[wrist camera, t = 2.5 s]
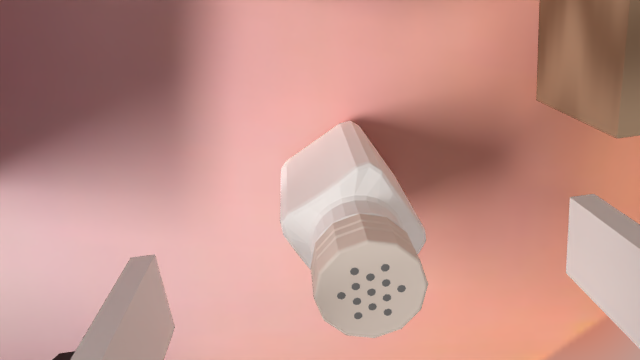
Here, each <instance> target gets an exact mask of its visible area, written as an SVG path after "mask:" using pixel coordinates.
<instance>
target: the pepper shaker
mask: <svg viewBox="0 0 640 360" xmlns="http://www.w3.org/2000/svg"><path fill="white" fill-rule="evenodd" d="M280 223H281V227H282V231H283V235H284V236H285V238H286V239H287V240H288V242H289V243H290V244H291V246H292V247H293V248H294V250H295V251H296V253H297V254H298V255H299V256H300V258H301V259H302V260H303V261H304V262H305V264H306V265H307V266H308V267H309V268H310V270H311V274H312V282H313V284H312V285H313V297H314V299H315V302H316V304H317V306H318V308H319V310H320V313H321V315H322V317H323V319H324V321H326V322H327V323H329V324H330V325H332V326H333V327H335V328H336V329H338V330H339V331H341V332H343V333H344V334H346V335H349V336H359V337H370V338H376V337H379V336H382V335H385V334H387V333H390V332H393V331H396V330H399V329H402V328H403V327H404V326H405V325H406V324H407V323H408V322H409V321H410V320H411V319H412V318H413V317H414V316H415V315H416V314H417V313H418V312H419V311H420V310H421V308H422V304H423V300H424V297H425V293H426V290H427V286H428V282H427V279H426V276H425V273H424V270H423V267H422V264H421V262H420V259H419V257H418V255H417V254H418V253H419V252H420V250H421V249H422V247H423V245H424V243H425V241H426V235H425V229H424V227H423V225H422V223H421V222H420V220H419V218H418V216H417V215H416V213H415V211H414V209H413V207H412V206H411V204H410V202H409V200H408V199H407V197H406V195H405V193H404V191H403V190H402V188H401V186H400V184H399V183H398V181H397V179H396V177H395V175H394V174H393V173H392V171H391V170H390V168H389V167H388V166H387V164H386V163H385V161H384V160H383V159H382V157H381V156H380V154H379V153H378V151H377V150H376V149H375V147H374V146H373V144H372V143H371V142H370V140H369V139H368V137H367V136H366V135H365V133H364V132H363V130H362V129H361V128H360V126H359V125H357V124H355V123H354V122H352V121H347V122H343V123H339V124H338V125H336V126H335V127H334V128H332V129H331V130H329V131H328V132H327V133H325V134H324V135H322V136H321V137H319V138H318V139H317V140H315V141H314V142H312V143H311V144H310V145H308V146H307V147H305V148H304V149H302V150H301V151H300V152H298V153H297V154H295V155H294V156H293V157H291V158H290V159H288V160H287V161H286V162H285V164H284V166H283V167H282V169H281V203H280Z"/></svg>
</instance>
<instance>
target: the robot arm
mask: <svg viewBox="0 0 640 360" xmlns="http://www.w3.org/2000/svg"><path fill="white" fill-rule="evenodd" d="M566 273H567V274H568V276H569V277H570V278H571V279H572V280H573V281H574V282H575V283H576V284H577V285H578V286H579V287H580V288H581V289H582V290H583V291H584V292H585V293H586V294H587V295H588V296H589V297H590V298H591V299H592V300H593V301H594V302H595V303H596V304H597V305H598V306H599V307H600V309H601V310H602V311H603V312H604V313H605V314H606V315H607V316H608V317H609V318H610V319H611V320H612V321H613V322H614V323H615V324H616V325H617V326H618V327H619V328H620V329H621V330H622V331H623V332H624V333H625V334H626V335H627V336H628V337H629V338H630V339H631V340H632V341H633V343H635V344H636V345H637V347H638V348H639V349H640V225H639V224H638V223H636V222H635V221H633V220H632V219H631V218H629V217H628V216H626V215H625V214H623V213H622V212H620V211H619V210H617V209H616V208H614V207H613V206H611V205H610V204H608V203H607V202H605V201H604V200H602V199H601V198H599V197H598V196H596V195H595V194H589V195H582V196H575V197H570V206H569V225H568V244H567V263H566ZM174 328H175V326H174V323H173V319H172V315H171V312H170V308H169V304H168V301H167V297H166V293H165V290H164V286H163V282H162V279H161V275H160V271H159V268H158V264H157V260H156V257H155V255H147V256H140V257H133V258H130V260H129V261H128V263H127V265H126V266H125V268H124V270H123V271H122V273H121V275H120V276H119V278H118V280H117V282H116V283H115V285H114V287H113V288H112V290H111V292H110V293H109V295H108V297H107V298H106V300H105V302H104V304H103V305H102V307H101V309H100V310H99V312H98V314H97V315H96V317H95V319H94V320H93V322H92V324H91V325H90V327H89V329H88V331H87V332H86V334H85V336H84V337H83V339H82V341H81V342H80V344H79V346H78V347H77V349H76V351H74V352H67V353H60V354H58V355H57V356H56V357H55V358H54V359H53V360H164V358H165V355H166V352H167V349H168V346H169V343H170V340H171V337H172V334H173V331H174Z"/></svg>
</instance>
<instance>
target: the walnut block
mask: <svg viewBox="0 0 640 360" xmlns="http://www.w3.org/2000/svg"><path fill="white" fill-rule="evenodd" d="M536 100H537V101H539V102H541V103H543V104H545V105H548V106H550V107H552V108H554V109H556V110H558V111H560V112H562V113H564V114H566V115H569V116H571V117H573V118H575V119H577V120H579V121H581V122H583V123H585V124H587V125H590V126H592V127H594V128H596V129H598V130H600V131H602V132H604V133H606V134H608V135H611V136H613V137H615V138H624V137H631V136H639V135H640V0H540V5H539V35H538V66H537V96H536Z"/></svg>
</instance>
